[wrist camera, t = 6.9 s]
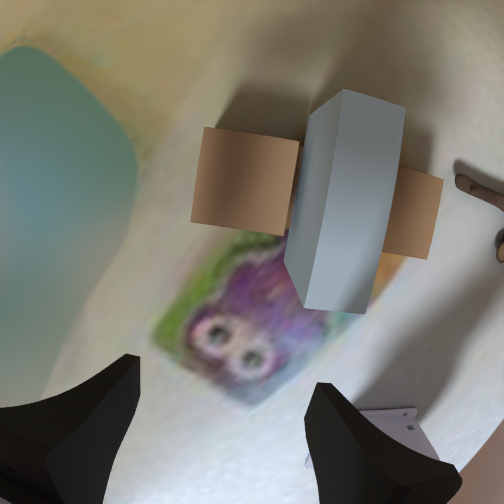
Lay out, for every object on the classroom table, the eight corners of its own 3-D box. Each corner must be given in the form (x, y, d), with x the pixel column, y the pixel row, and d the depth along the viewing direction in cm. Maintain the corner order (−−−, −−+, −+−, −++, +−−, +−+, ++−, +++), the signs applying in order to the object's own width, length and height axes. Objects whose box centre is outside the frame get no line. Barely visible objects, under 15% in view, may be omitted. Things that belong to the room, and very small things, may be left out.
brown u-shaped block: (415, 176, 20) (443, 179, 16) (402, 246, 21) (426, 259, 18) (210, 134, 19) (204, 126, 15) (199, 213, 20) (190, 222, 17)
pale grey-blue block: (352, 126, 18) (405, 107, 11) (326, 267, 20) (364, 314, 13) (308, 116, 18) (343, 88, 11) (283, 261, 20) (304, 307, 13)
